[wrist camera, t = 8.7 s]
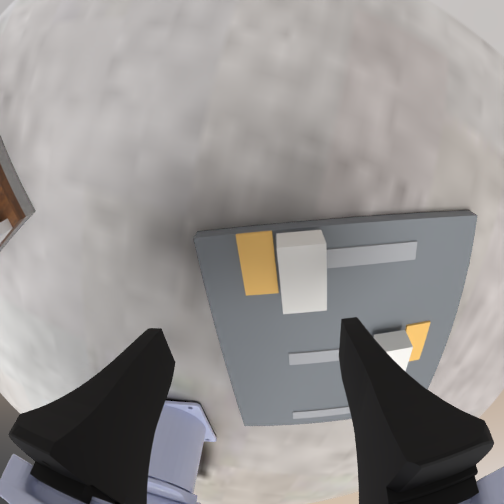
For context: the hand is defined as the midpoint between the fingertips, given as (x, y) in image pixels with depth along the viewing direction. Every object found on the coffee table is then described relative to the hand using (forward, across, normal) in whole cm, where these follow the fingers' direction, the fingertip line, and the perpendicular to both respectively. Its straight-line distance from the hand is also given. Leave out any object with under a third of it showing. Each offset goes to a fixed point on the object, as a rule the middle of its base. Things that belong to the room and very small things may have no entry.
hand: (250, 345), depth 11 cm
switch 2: (+6, -8, +8) cm, 13 cm away
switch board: (+8, -5, +8) cm, 12 cm away
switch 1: (+6, -2, 0) cm, 7 cm away
